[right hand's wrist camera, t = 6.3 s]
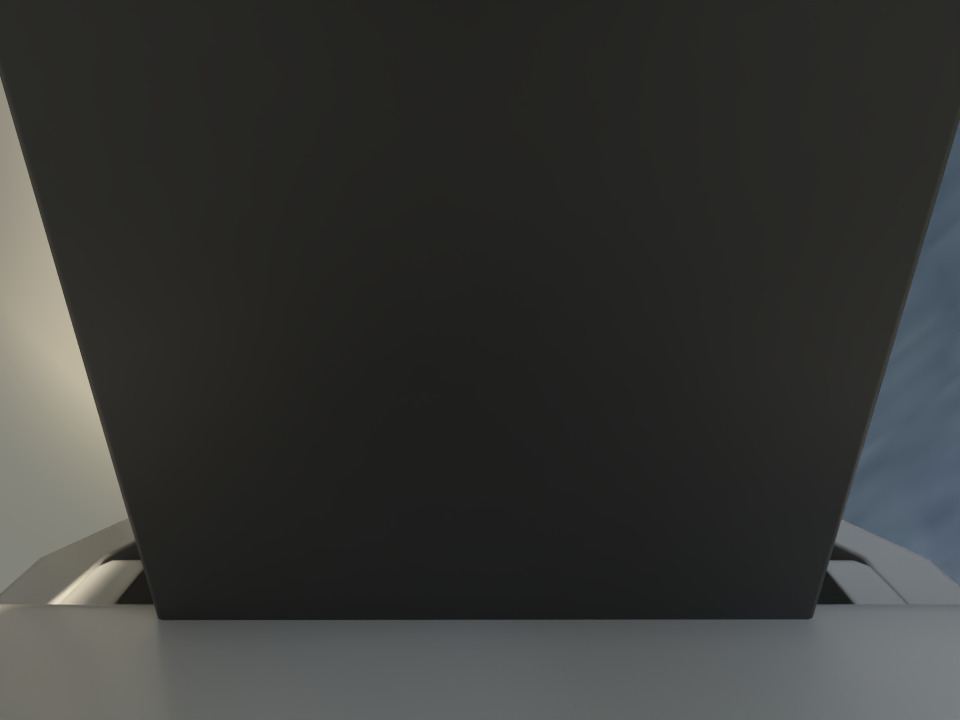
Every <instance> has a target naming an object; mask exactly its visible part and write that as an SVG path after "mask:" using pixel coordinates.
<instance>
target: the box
mask: <svg viewBox="0 0 960 720" xmlns="http://www.w3.org/2000/svg"><path fill="white" fill-rule="evenodd" d="M0 77H1V80H2V84H3V87H4V91H5V94H6V98H7V101H8V105H9V108H10V111H11V115H12V118H13V122H14V125H15V129H16V132H17V135H18V139H19V142H20V146H21V149H22V153H23V156H24V160H25V163H26V166H27V170H28V173H29V177H30V180H31V184H32V187H33V191H34V194H35V197H36V201H37V204H38V208H39V211H40V215H41V218H42V221H43V225H44V228H45V232H46V235H47V239H48V242H49V245H50V249H51V252H52V256H53V259H54V262H55V266H56V270H57V273H58V276H59V280H60V283H61V286H62V290H63V294H64V297H65V301H66V304H67V307H68V311H69V314H70V318H71V321H72V325H73V328H74V332H75V335H76V338H77V342H78V345H79V348H80V352H81V356H82V359H83V362H84V366H85V369H86V373H87V376H88V380H89V383H90V387H91V390H92V393H93V397H94V400H95V403H96V407H97V410H98V414H99V417H100V421H101V424H102V428H103V431H104V435H105V438H106V441H107V445H108V448H109V452H110V455H111V459H112V462H113V466H114V469H115V472H116V476H117V479H118V483H119V486H120V490H121V493H122V497H123V500H124V503H125V507H126V510H127V514H128V517H129V521H130V524H131V528H132V531H133V534H134V538H135V541H136V545H137V548H138V552H139V555H140V558H141V562H142V565H143V569H144V572H145V576H146V579H147V583H148V586H149V589H150V593H151V596H152V600H153V603H154V607H155V610H156V614H157V617H158V619H161V620H808V619H811V618H813V615H814V611H815V608H816V604H817V601H818V598H819V594H820V591H821V588H822V584H823V581H824V577H825V574H826V571H827V567H828V564H829V560H830V557H831V554H832V550H833V547H834V543H835V540H836V537H837V533H838V530H839V527H840V523H841V520H842V516H843V513H844V510H845V506H846V503H847V499H848V496H849V493H850V489H851V486H852V483H853V479H854V476H855V472H856V469H857V466H858V462H859V459H860V455H861V452H862V449H863V445H864V442H865V438H866V435H867V432H868V428H869V425H870V422H871V418H872V415H873V411H874V408H875V405H876V401H877V398H878V394H879V391H880V388H881V384H882V381H883V377H884V374H885V371H886V367H887V364H888V361H889V357H890V354H891V350H892V347H893V344H894V340H895V337H896V333H897V330H898V327H899V323H900V320H901V316H902V313H903V310H904V306H905V303H906V300H907V296H908V293H909V289H910V286H911V283H912V279H913V276H914V272H915V269H916V266H917V262H918V259H919V256H920V252H921V249H922V245H923V242H924V239H925V235H926V232H927V228H928V225H929V222H930V218H931V215H932V211H933V208H934V205H935V201H936V198H937V195H938V191H939V188H940V184H941V181H942V178H943V174H944V171H945V167H946V164H947V161H948V157H949V154H950V150H951V147H952V144H953V140H954V137H955V134H956V130H957V127H958V123H959V120H960V0H0Z"/></svg>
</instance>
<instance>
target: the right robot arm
mask: <svg viewBox="0 0 960 720" xmlns="http://www.w3.org/2000/svg"><path fill="white" fill-rule="evenodd" d="M0 720H960V586H959V585H957V584H956V583H955V582H954V581H953V580H952V579H951V578H950V577H948V576H947V575H946V574H945V573H944V572H943V571H942V570H940V569H939V568H938V567H937V566H936V565H935V564H934V563H932V562H931V561H930V560H929V559H927V558H925V557H923V556H921V555H919V554H916V553H914V552H912V551H910V550H908V549H905V548H903V547H901V546H899V545H897V544H894V543H892V542H890V541H888V540H886V539H883V538H881V537H879V536H877V535H874V534H872V533H870V532H868V531H866V530H863V529H861V528H859V527H857V526H855V525H852V524H850V523H848V522H846V521H844V520H841V523H840V527H839V530H838V533H837V537H836V540H835V543H834V547H833V550H832V554H831V557H830V560H829V564H828V567H827V571H826V574H825V577H824V581H823V584H822V588H821V591H820V594H819V598H818V601H817V604H816V608H815V611H814V615H813V618H811V619H808V620H161V619H158V617H157V614H156V610H155V607H154V603H153V600H152V596H151V593H150V589H149V586H148V583H147V579H146V576H145V572H144V569H143V565H142V562H141V558H140V555H139V552H138V548H137V545H136V541H135V538H134V534H133V531H132V528H131V524H130V521H129V518H128V519H125V520H123V521H121V522H119V523H117V524H114V525H112V526H110V527H108V528H105V529H103V530H101V531H99V532H97V533H95V534H92V535H90V536H88V537H86V538H84V539H81V540H79V541H77V542H75V543H73V544H70V545H68V546H66V547H64V548H62V549H59V550H57V551H55V552H53V553H51V554H48V555H46V556H44V557H42V558H40V559H39V560H38V561H37V562H36V563H35V564H33V565H32V566H31V567H30V568H29V569H28V570H27V571H25V572H24V573H23V574H22V575H21V576H20V577H19V578H18V579H16V580H15V581H14V582H13V583H12V584H11V585H10V586H9V587H7V588H6V589H5V590H4V591H3V592H2V593H1V594H0Z"/></svg>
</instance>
